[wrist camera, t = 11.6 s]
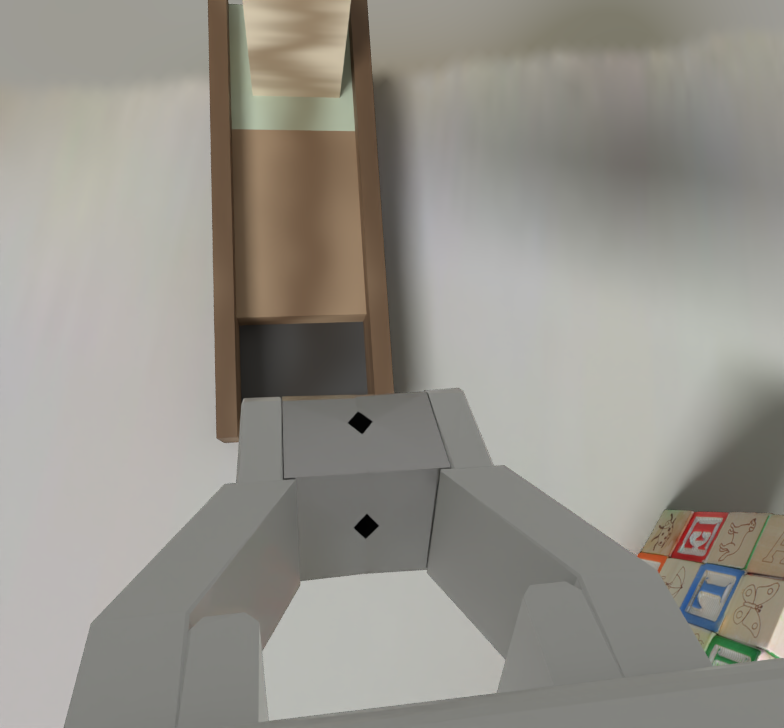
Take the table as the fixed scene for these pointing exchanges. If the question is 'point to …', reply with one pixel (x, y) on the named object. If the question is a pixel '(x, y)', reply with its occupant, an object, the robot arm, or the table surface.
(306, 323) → the walled track
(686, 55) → the table surface
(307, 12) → the birch block
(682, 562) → the stack of blocks
